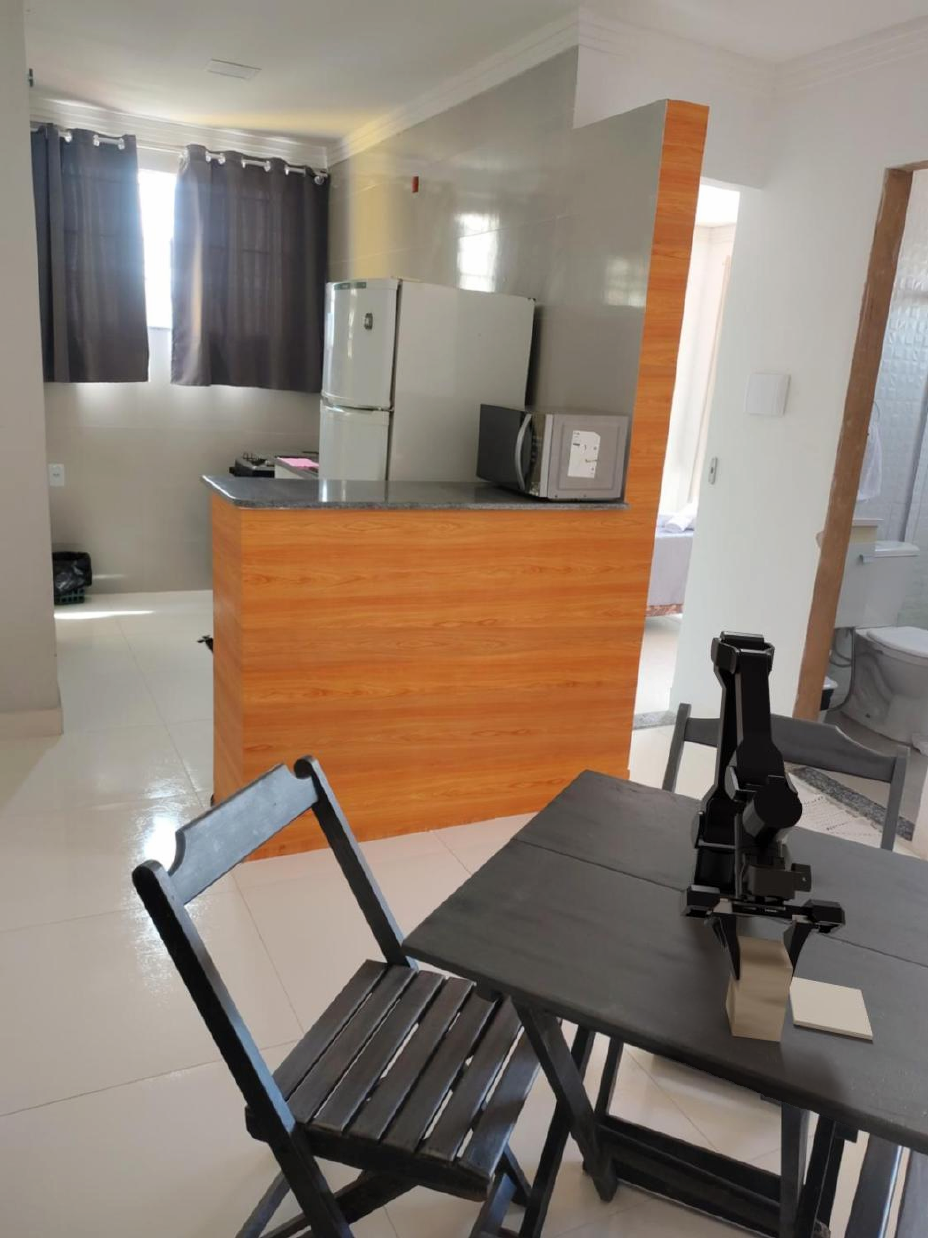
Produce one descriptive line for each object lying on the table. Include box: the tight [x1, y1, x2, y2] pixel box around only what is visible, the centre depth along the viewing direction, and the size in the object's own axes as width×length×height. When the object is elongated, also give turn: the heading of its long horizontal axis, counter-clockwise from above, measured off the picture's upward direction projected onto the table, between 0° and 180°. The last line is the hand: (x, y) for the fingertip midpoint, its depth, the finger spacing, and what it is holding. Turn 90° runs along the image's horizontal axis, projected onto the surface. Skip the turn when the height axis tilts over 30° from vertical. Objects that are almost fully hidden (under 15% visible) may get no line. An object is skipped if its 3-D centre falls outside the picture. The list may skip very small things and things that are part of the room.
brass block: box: [725, 934, 793, 1042], centre depth 112 cm, size 6×6×10 cm
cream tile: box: [788, 976, 874, 1041], centre depth 117 cm, size 9×9×1 cm
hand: (762, 983), depth 111 cm, fingers closed on brass block, 5 cm apart
